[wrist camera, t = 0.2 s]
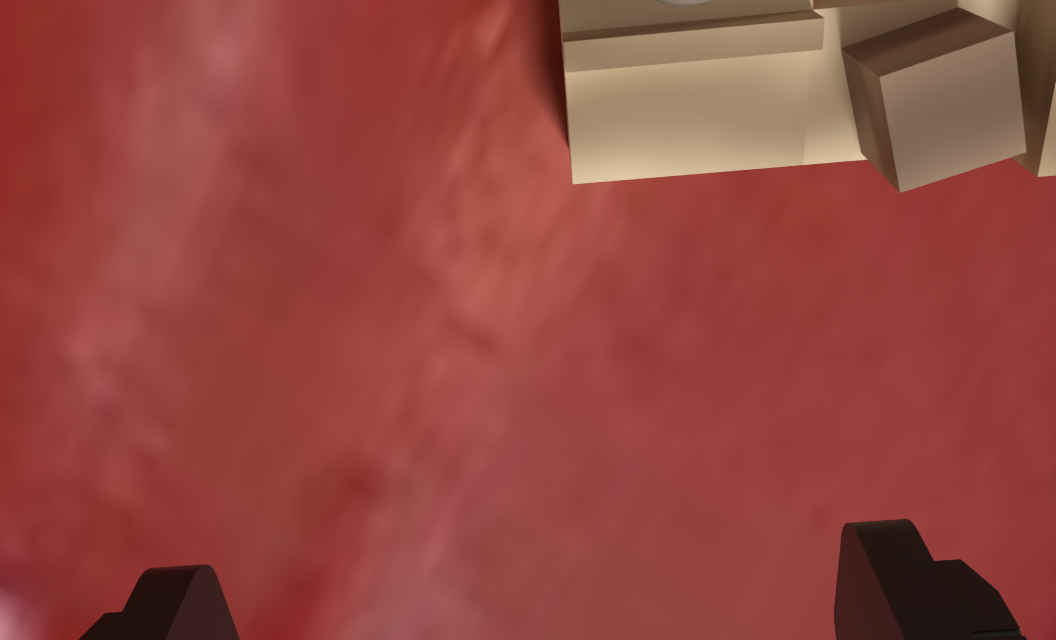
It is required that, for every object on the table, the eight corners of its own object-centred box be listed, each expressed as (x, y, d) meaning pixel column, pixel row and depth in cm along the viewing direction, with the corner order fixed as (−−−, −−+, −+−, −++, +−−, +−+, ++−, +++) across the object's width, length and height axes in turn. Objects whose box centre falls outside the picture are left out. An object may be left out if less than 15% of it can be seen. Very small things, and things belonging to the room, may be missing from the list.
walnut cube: (840, 48, 31) (879, 76, 28) (958, 7, 31) (1014, 31, 27) (861, 153, 33) (900, 192, 30) (973, 116, 32) (1026, 152, 29)
